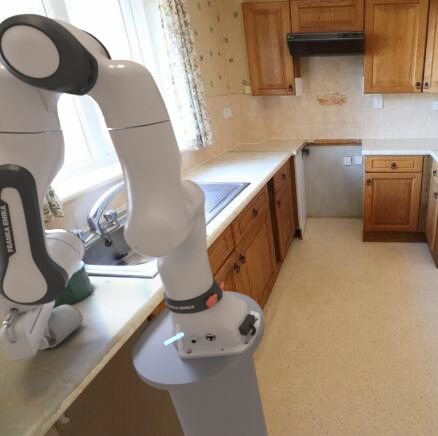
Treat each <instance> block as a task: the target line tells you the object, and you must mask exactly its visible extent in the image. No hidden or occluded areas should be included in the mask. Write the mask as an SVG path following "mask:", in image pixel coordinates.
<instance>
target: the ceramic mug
mask: <svg viewBox="0 0 438 436" xmlns="http://www.w3.org/2000/svg"><path fill="white" fill-rule="evenodd" d="M83 319H84V318H83V314H82V312H81V311H80V310H79V309H78V308H77V307H76V306H74V305H73V304H70V305H68V304H64V305H61V306H55V307H54V308H53V310H52V313H51V315H50V318H49V321H48V323H47V324H48V329H49V335H50V337H51V341H50V344H49V347H48V348H55V347H57V346H58V345H59V344H60V343H61V342H63V341H64V340H65V339H66V338H67V337H69V336H70V335H71V334H72V333H73V332H74V331H76V330H77V329H78V328H79V327H80V326H81V325H82V323H83Z"/></svg>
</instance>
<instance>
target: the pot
mask: <svg viewBox="0 0 438 436" xmlns="http://www.w3.org/2000/svg"><path fill="white" fill-rule="evenodd" d="M93 290H94V288H93V284H92V282H91V279H90V277H89V274H88V273H87V271H86V267H84V268H83V269H82V270H81V271H79V272H78V273H77V274H75V275H73V276H71V278H70V279H69V282H68V284H67V286H66V288H65V291H64V292H63V294H62V295H61V296H60V297H59V298H58V299H56V300H55V305H54V307H58V306H61V305H64V304H68V305H74V304H76V303H78V302H80V301H82V300H84V299H85V298H87V297H88V296H89V295H91V293H92V292H93Z"/></svg>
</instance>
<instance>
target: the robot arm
mask: <svg viewBox="0 0 438 436" xmlns="http://www.w3.org/2000/svg"><path fill="white" fill-rule="evenodd" d="M65 94H66V95H73V96H78V97H83V96H85V95H86V96H88V97H89V98H90V99H91V100H92V101H94V103H95V104H96V106H97V107H98V109H99V111H100V113H101V117H102V118H103V121H104V124H105V127H106V129H107V132H108V134H109V137H110V140H111V143H112V145H113V148H114V150H115V153H116V156H117V159H118V162H119V165H120V168H121V171H122V177H123V183H124V192H125V203H126V217H125V221H124V222H125V223H124V227H123V239H124V241H125V242H126V244H127V246H128V247H129V248H130V250H132V251H133V252H135V253H136V254H138V255H140V256H143V257H145V258H151V259H156V258H157V259H156V260H157V261H156V267H157V271H158V274H159V278H160V281H161V284H162V287H163V290H164V291H163V297H164V301H165V305H166V307H167V308H168V309H169V310H170V313H171V318H172V328H173V333H172V338H171V339H169V340H167V341H165V342H164V343H165V345H167V344H169V343H171V342H173V344H174V346H175V347H176V348H177V349H178V351H179V357H180V358H181V359H191V358H202V357H214V356H225V355H237V354H242V353H243V352H245V351H246V350H247V349H248V348H249V347H250V346H251V345H252V343H253V342H254V340H255V339H256V337H257V335H258V332H259V330H260V326H261V317H260V314H259V313H258V312H254V311H250V309H249V307H248V305H247V303H246V302H245V301H243V300H241V299H239V298H237V297H236V296H235V295H231V294H229V293H227V292H225V291H226V290H223V289H224V287H225V281H222V282H221V283H220V284H219V283H218V281H217V280H216V278H214V276H213V272H212V267H211V263H210V258H209V253H208V244H207V243H208V242H207V241H208V240H207V238H208V237H207V222H206V221H207V220H206V210H205V209H206V194H205V192H204V190H203V188H202V187H201V186H200V185H199V184H198V183H197V182H195V181H193V180H191V179H187V178H182V171H181V169H182V153H181V151H180V147H179V145H178V141H177V137H176V134H175V130H174V127H173V124H172V121H171V117H170V114H169V111H168V108H167V105H166V103H165V101H164V98H163V95H162V93H161V90H160V89H159V87H158V85H157V82H156V81H155V78H154V77H153V74H152V73H151V72H150V70H149V69H148V68H147V67H146V66H145V65H143V64H141V63H139V62H136V61H133V60H129V59H112V56H111V54H110V52H109V50H108V48H107V47H106V46H105V45H104V43H103V42H102V41H101V40H100V39H98V38H97V37H96V36H94V35H93V34H92V33H90V32H88V31H86V30H84V29H81V28H78V27H77V26H76V25H73V24H71V23H70V22H67V21H63V20H60V19H57V18H53V17H47V16H45V15H42V14H36V13H19V14H14V15H11V16H9V17H6V18H4V20H2V21H1V22H0V317H1V318H5V319H4V320H3V323H2V327H1V328H0V340H1V343H2V346H3V348H4V350H5V352H6V354H7V356H8V357H9V359H10V360H11V361H12V362H19V361H23V360H27V359H29V358H32V357H34V356H36V354H37V353H38V350H40V351H43V350H45V349H48V348H50V347H49V344H50V341H51V337H50V335H49V329H48V324H47V323H48V321H49V318H50V315H51V313H52V310H53V309H55V306H54V305H55V300H56V299H58V298H59V297H60V296H61V295H62V294H63V292H64V291H65V288H66V286H67V284H68V282H69V279H70V278H71V276H72V275H73V273H74V272H75V270H76V268H77V267H78V265H79V263H80V262H81V261H83V258H84V256H85V254H86V245H85V243H84V241H83V240H82V239H81V238H80V236H78V235H77V234H76V233H73V232H72V231H69V230H66V229H62V228H53V229H46V225H45V217H44V203H45V198H46V197H47V196H46V195H47V193H48V191H49V188H50V186H51V185H52V183H53V182H54V180H55V179H56V177H57V175H58V174H59V172H60V171H61V170H62V168H63V167H64V163H65V153H66V148H65V147H66V143H65V136H64V131H63V127H62V121H61V117H60V109H59V104H60V100H61V98H62V97H63V96H64V95H65ZM189 353H190V354H189Z"/></svg>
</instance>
